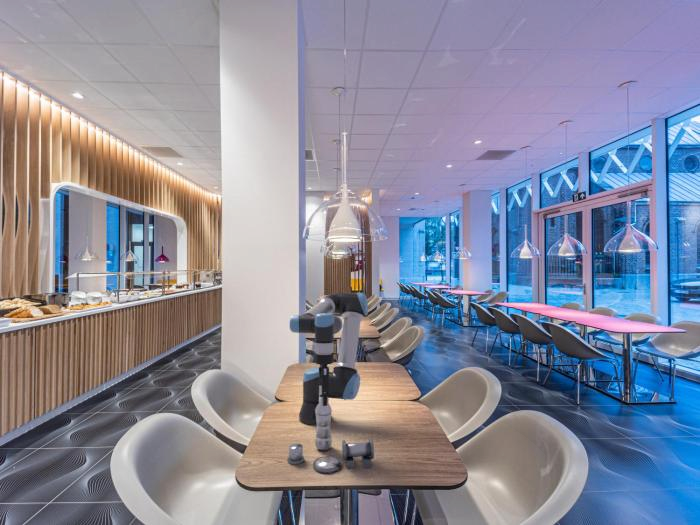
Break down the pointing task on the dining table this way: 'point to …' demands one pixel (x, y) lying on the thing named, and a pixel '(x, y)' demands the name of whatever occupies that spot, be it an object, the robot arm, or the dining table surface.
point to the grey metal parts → (346, 457)
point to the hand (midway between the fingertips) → (323, 407)
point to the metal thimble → (295, 454)
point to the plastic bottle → (323, 428)
